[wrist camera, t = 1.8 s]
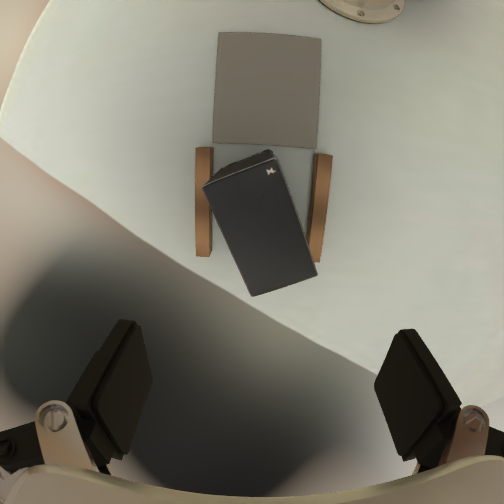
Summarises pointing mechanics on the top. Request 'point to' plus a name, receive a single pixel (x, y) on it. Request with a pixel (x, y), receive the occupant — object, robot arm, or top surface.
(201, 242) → the brown open frame
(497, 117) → the top surface
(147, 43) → the top surface
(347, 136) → the top surface
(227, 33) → the rubber mat
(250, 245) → the small box
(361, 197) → the top surface
